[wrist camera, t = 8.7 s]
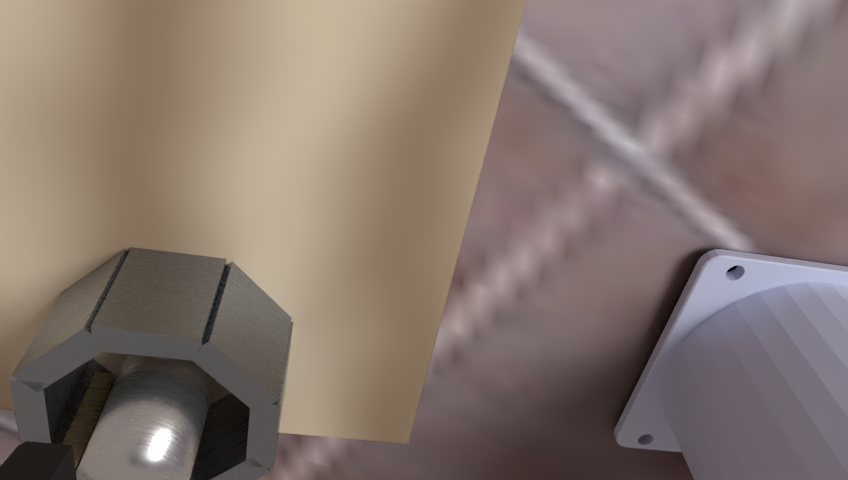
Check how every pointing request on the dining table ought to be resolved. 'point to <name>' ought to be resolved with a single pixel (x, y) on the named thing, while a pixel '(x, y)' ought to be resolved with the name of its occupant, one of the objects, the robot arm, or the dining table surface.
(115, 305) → the ring hub
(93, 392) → the steel post
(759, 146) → the dining table surface
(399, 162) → the board
